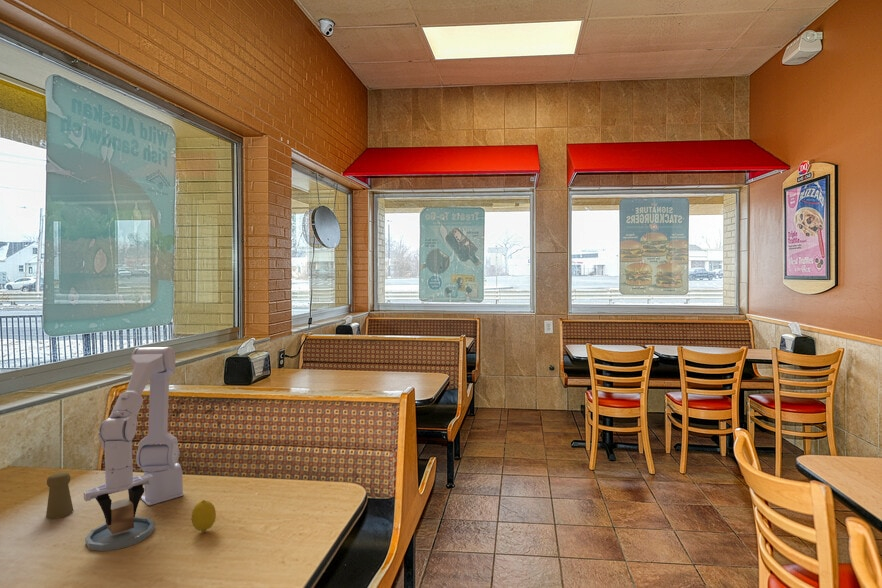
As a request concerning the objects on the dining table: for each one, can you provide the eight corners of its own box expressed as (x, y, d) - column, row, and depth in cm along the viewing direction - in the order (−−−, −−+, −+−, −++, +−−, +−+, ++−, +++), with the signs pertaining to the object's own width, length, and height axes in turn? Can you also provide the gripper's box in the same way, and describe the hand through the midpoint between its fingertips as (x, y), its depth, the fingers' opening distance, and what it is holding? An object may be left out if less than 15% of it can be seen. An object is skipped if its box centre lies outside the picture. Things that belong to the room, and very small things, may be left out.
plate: (143, 517, 138) (143, 511, 138) (161, 535, 128) (161, 529, 128) (80, 536, 128) (80, 530, 127) (94, 557, 118) (94, 551, 118)
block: (128, 521, 131) (127, 498, 131) (133, 527, 128) (133, 503, 128) (107, 528, 128) (106, 504, 127) (112, 534, 124) (111, 509, 124)
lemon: (220, 528, 131) (220, 497, 131) (204, 538, 126) (203, 506, 126) (203, 525, 133) (203, 494, 133) (186, 535, 128) (185, 503, 127)
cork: (58, 519, 136) (57, 478, 136) (39, 517, 138) (38, 477, 137) (79, 509, 142) (77, 470, 142) (60, 507, 144) (59, 468, 143)
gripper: (88, 478, 119) (89, 536, 120) (156, 462, 130) (157, 515, 130) (80, 470, 124) (82, 526, 124) (147, 455, 134) (148, 506, 135)
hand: (120, 520), depth 128 cm, fingers closed on block, 4 cm apart
